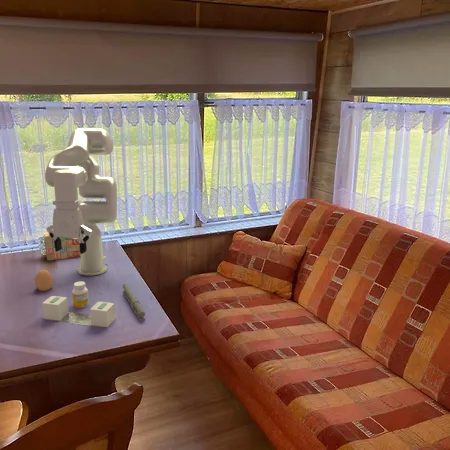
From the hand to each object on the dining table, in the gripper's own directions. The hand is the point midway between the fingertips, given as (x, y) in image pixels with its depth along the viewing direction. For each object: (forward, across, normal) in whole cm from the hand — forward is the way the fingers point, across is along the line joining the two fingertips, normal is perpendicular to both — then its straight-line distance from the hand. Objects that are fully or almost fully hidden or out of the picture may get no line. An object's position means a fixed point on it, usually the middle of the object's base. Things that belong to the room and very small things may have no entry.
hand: (70, 251), depth 166 cm
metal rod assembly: (+22, +21, +5) cm, 31 cm away
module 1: (+21, -2, -10) cm, 23 cm away
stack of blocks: (+21, -30, +48) cm, 61 cm away
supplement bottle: (+22, +2, 0) cm, 22 cm away
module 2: (+21, +16, -10) cm, 28 cm away
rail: (+22, +7, -10) cm, 25 cm away
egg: (+22, -19, +10) cm, 30 cm away
